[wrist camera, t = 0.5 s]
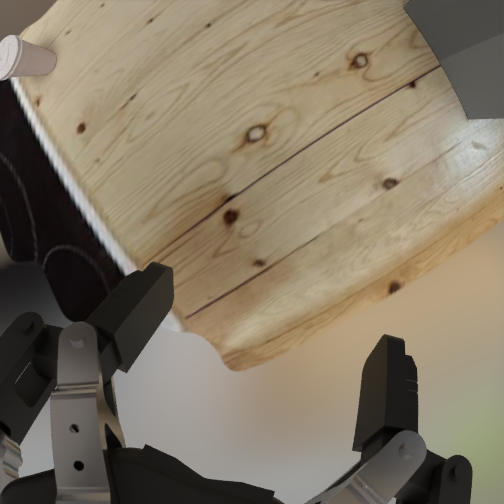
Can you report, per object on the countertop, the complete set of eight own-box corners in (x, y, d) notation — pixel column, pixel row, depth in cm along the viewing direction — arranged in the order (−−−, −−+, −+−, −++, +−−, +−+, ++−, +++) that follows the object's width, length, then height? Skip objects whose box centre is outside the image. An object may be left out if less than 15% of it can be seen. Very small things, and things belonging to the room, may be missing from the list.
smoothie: (29, 79, 33) (-38, 76, 20) (44, 42, 31) (-21, 29, 18) (53, 86, 33) (-19, 82, 20) (68, 46, 31) (0, 30, 18)
